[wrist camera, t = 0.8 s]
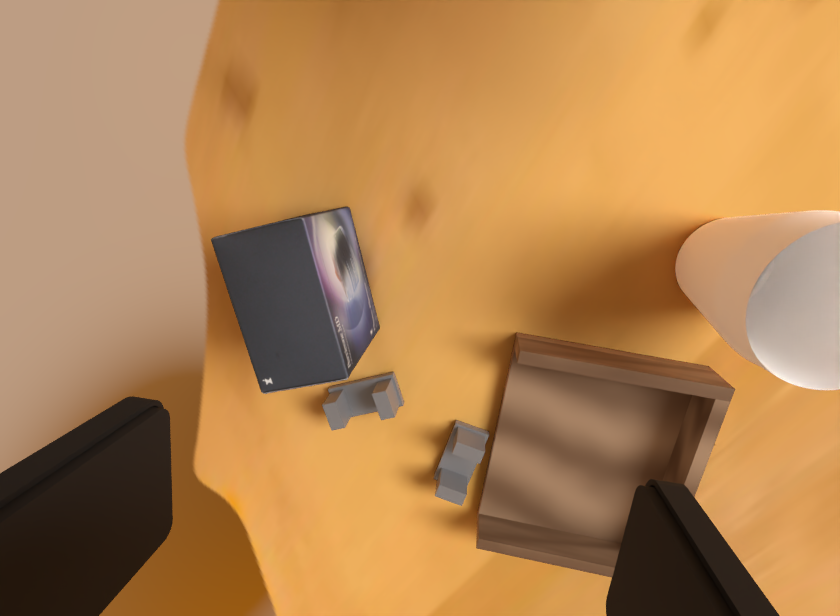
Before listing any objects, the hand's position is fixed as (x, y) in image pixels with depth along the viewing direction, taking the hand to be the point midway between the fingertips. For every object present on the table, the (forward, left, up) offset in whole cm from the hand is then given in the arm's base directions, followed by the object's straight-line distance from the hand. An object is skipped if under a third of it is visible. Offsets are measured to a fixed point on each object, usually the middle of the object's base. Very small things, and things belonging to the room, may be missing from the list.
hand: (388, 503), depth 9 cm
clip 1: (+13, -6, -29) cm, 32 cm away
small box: (+3, -10, -29) cm, 31 cm away
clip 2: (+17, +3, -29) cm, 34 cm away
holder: (+14, +13, -29) cm, 35 cm away
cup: (-3, +19, -29) cm, 35 cm away
